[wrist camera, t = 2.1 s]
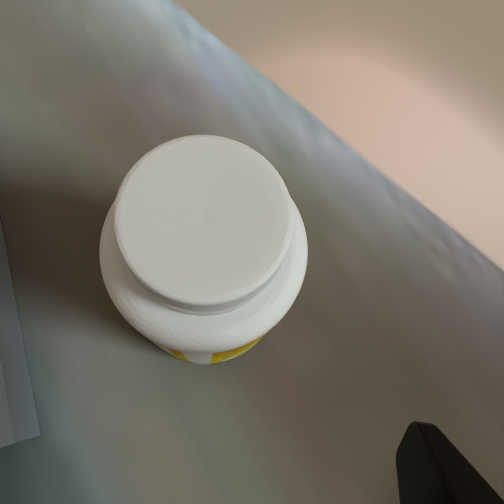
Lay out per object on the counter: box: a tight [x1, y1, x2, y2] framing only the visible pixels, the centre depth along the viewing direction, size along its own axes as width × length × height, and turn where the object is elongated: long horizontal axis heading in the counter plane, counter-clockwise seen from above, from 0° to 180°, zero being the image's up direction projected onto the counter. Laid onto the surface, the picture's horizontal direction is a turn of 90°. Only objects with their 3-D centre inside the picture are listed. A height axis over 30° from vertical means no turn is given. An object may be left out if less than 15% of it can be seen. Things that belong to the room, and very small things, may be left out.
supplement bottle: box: [99, 135, 308, 364], centre depth 15 cm, size 6×6×10 cm
